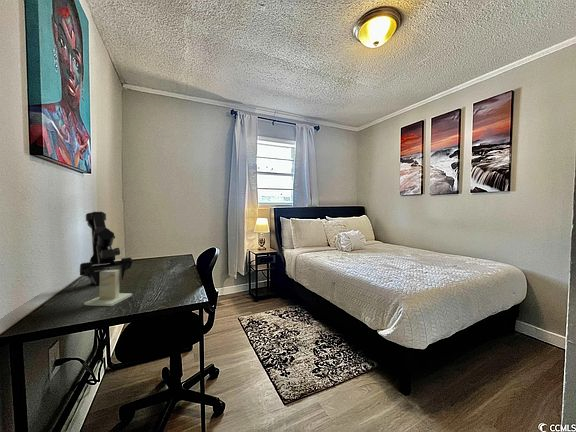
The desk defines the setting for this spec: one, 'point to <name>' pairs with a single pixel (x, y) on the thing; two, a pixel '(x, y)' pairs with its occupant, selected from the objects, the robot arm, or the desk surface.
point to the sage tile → (108, 300)
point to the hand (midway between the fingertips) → (109, 281)
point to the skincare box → (109, 284)
